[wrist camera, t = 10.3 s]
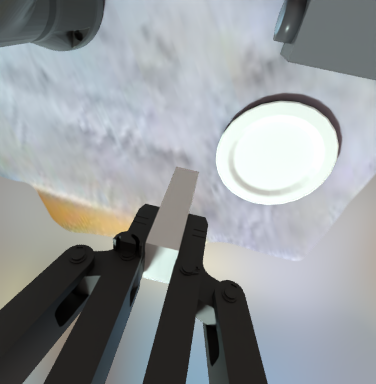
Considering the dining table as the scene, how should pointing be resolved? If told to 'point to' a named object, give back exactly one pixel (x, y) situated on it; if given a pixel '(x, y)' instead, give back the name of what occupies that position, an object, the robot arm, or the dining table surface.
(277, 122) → the plate
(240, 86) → the dining table surface
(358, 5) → the camera body
